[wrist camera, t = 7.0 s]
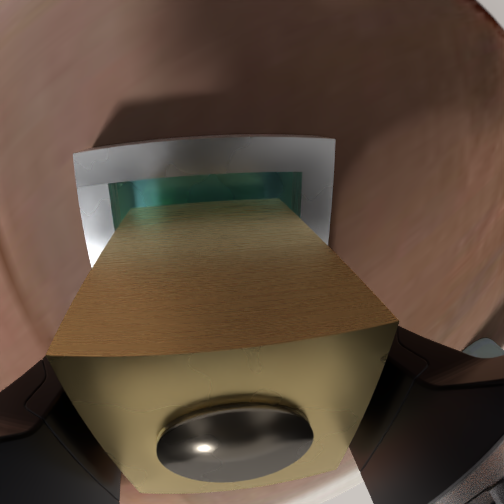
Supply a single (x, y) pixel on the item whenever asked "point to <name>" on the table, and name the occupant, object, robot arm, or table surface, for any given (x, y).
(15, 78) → the table surface
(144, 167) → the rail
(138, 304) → the block
